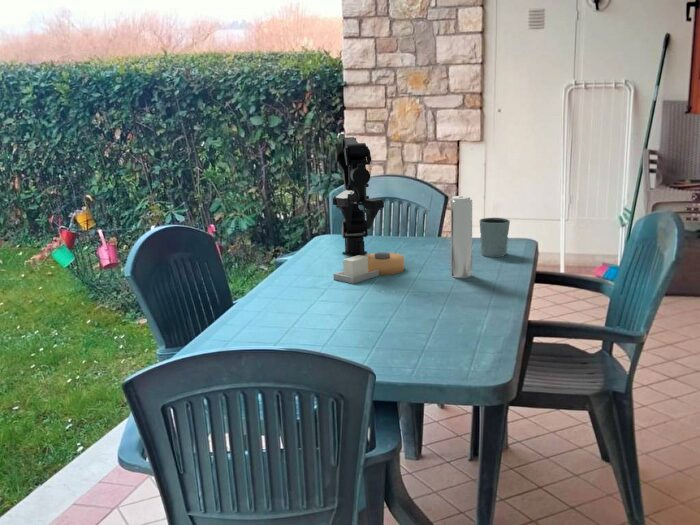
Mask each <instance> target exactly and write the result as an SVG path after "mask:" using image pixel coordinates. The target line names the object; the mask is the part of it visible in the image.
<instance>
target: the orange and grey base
mask: <svg viewBox="0 0 700 525" xmlns="http://www.w3.org/2000/svg"><path fill="white" fill-rule="evenodd" d="M363 256H365V257H368V273H365V274H362V275H359V276H355V277H350V276H346V275H344V270H342V271H339V272H338V271H337V272H334V273H333V280H335V281H340V282H345V283H349V284H356V283H360V282H363V281H364V282H365V281H367V280H370V279H373V278H377V277H379V276H389V275H396V274H399V273H402V272H404V270H405V256H404V255H402V254H399V253H396V252H395V253H394V252H383V251H382V252H375V253H368V254H367V253H366V254H363Z"/></svg>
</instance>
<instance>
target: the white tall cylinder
mask: <svg viewBox="0 0 700 525" xmlns="http://www.w3.org/2000/svg"><path fill="white" fill-rule="evenodd" d="M450 276H451V277H452V278H455V279H468V278H469V279H470V278H471V277H472V276H473V199H471V196H468V195H454V196H452V197H451V199H450Z"/></svg>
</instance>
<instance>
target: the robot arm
mask: <svg viewBox="0 0 700 525" xmlns="http://www.w3.org/2000/svg"><path fill="white" fill-rule="evenodd" d="M340 141H341V142H340V143H339V144H338V145H337V146H336V147H335V153H334V158H335V163H337V169H338V170H339V172H341V174H342V175H343V185H344V186H343V188H344V190H343V191H342V192H340V193H339V194H337V195H335V196H334V197H333V198H332V205H333V206H335V207H336V208H338V210H339V211H341V214H342V215H343V219H342V221H341V228H340V229H341V230H340V231H341V237H342V239H344V250H345V251H342V254H341V255H348V256H351V257H354V256H357V255H360V256H362V255H365V254H367V253H368V251H367V250H365V241H364V238H367V237H368V235H369V234H368V232H369V230H370V229H371V228H372V226H373V223H374V221H375V219H376V216H377V215H378V213H379V211H381V210H382V209H383V208H385V201H384V200H383V199H382V198H370V195H367V188H368V187H369V186H370V185H369V182H370V180H371V173H370V171H369V170H368V169H367V168H366V167H367V165H368V166H370V165H371V162H372V155H371V150H370V147H369V146H368V145H367V144H366V142H358V140H357V138H356V137H354V136H353V137H351V136H350V137H349V136H348V137H343V138H341V140H340ZM360 206H363V208H364V209H361V208H360ZM364 213H365V214H364ZM365 217H366V219H365Z"/></svg>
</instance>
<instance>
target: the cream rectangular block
mask: <svg viewBox="0 0 700 525" xmlns="http://www.w3.org/2000/svg"><path fill="white" fill-rule="evenodd" d="M342 264H343V266H342V267H343V271H344V275H346V276H350V277H355V276H359V275H362V274H365V273H368V257H365V256H364V255H357V256H351V257H347V258H343V261H342Z"/></svg>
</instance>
